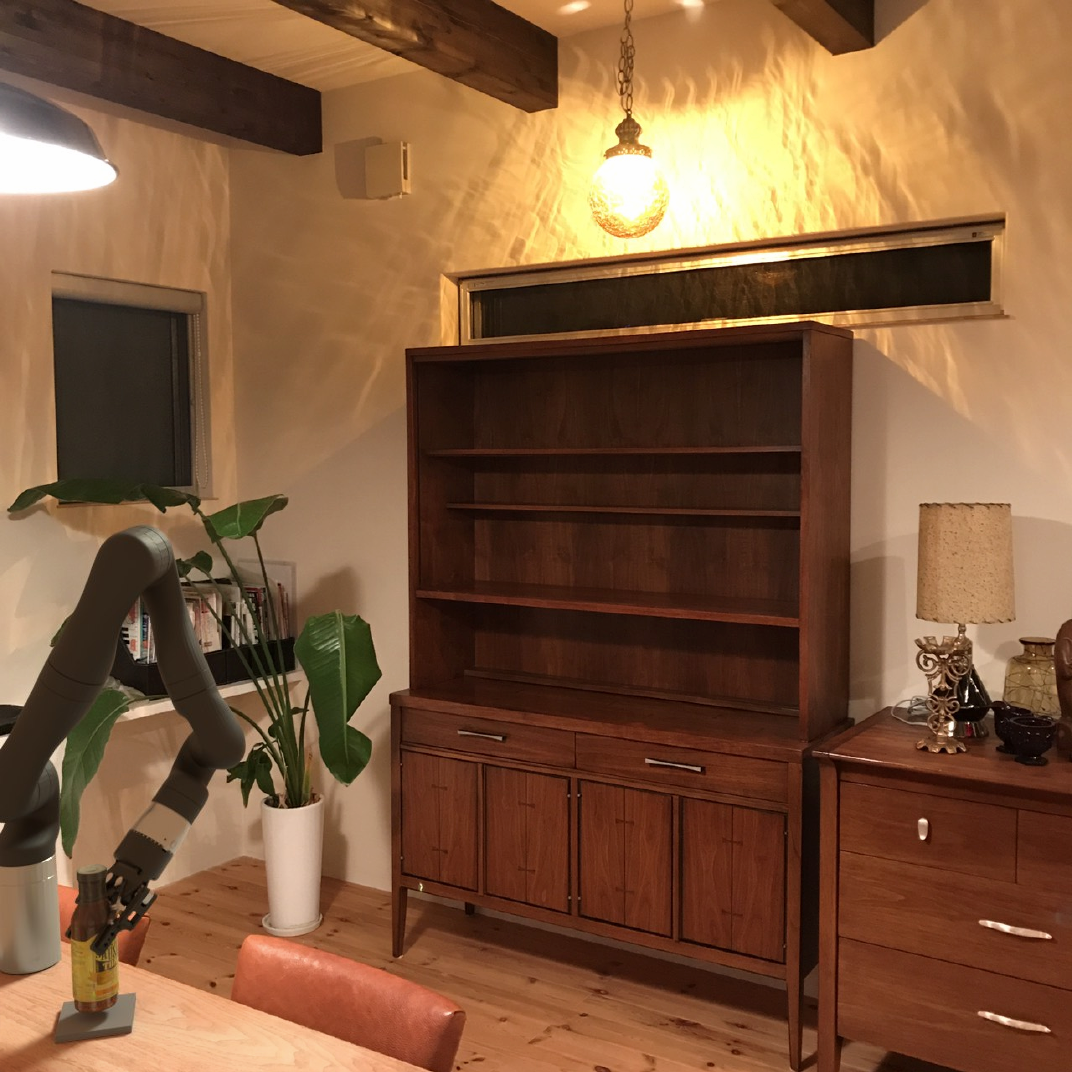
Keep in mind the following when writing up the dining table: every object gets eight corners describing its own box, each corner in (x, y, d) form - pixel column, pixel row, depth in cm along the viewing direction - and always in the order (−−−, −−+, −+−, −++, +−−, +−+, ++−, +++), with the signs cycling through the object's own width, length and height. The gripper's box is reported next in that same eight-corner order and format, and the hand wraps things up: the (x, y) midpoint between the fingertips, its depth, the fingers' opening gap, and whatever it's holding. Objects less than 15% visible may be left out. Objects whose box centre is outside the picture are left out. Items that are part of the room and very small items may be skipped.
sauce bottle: (104, 1017, 162) (96, 880, 160) (64, 1013, 163) (56, 877, 161) (129, 994, 169) (122, 862, 167) (90, 991, 170) (83, 859, 168)
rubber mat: (63, 1008, 169) (63, 1002, 169) (136, 998, 172) (135, 992, 172) (55, 1043, 160) (54, 1036, 160) (131, 1032, 163) (131, 1025, 162)
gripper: (109, 818, 174) (37, 921, 166) (164, 838, 165) (91, 948, 157) (142, 842, 179) (74, 943, 171) (197, 863, 169) (128, 971, 161)
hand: (82, 945), depth 164 cm, fingers closed on sauce bottle, 6 cm apart
